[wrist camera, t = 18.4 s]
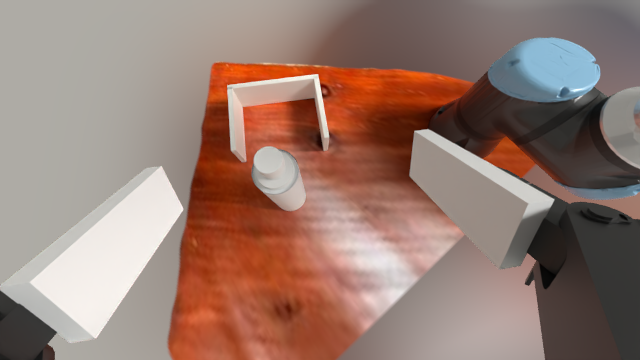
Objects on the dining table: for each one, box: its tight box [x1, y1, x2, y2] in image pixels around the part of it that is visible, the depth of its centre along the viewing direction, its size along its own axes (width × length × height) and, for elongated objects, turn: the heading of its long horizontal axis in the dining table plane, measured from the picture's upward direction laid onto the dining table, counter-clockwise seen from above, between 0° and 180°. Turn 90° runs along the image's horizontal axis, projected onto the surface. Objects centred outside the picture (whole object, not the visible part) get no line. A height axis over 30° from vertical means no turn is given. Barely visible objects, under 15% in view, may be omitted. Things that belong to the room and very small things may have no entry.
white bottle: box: [252, 146, 306, 211], centre depth 38 cm, size 7×7×25 cm
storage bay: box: [227, 74, 329, 162], centre depth 51 cm, size 20×16×7 cm
